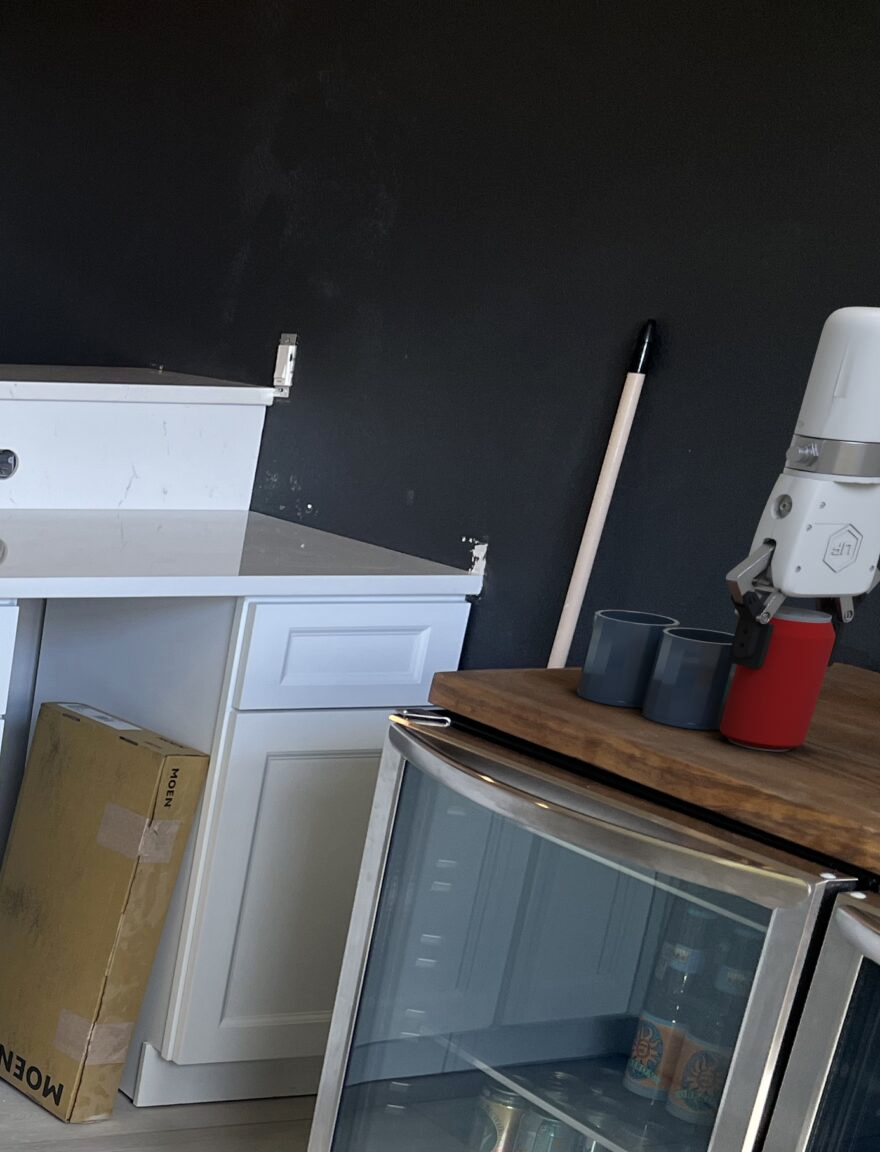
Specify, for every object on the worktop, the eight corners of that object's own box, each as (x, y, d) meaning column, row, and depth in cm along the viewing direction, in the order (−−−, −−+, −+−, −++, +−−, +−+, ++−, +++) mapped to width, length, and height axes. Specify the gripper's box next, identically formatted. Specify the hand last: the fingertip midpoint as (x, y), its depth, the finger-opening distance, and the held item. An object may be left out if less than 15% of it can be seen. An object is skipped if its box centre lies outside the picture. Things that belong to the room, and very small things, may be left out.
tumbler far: (651, 695, 186) (672, 615, 183) (662, 711, 180) (684, 628, 176) (572, 686, 188) (591, 606, 185) (580, 701, 182) (600, 619, 179)
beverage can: (797, 741, 171) (835, 610, 166) (806, 758, 165) (846, 623, 160) (713, 730, 173) (749, 601, 169) (720, 746, 167) (756, 613, 163)
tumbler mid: (720, 716, 179) (742, 633, 176) (733, 733, 172) (758, 648, 169) (636, 706, 181) (657, 624, 178) (647, 723, 174) (669, 638, 171)
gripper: (796, 465, 154) (737, 677, 161) (955, 467, 159) (891, 672, 166) (722, 453, 161) (668, 657, 167) (876, 455, 166) (818, 653, 172)
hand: (779, 663), depth 167 cm, fingers open, 7 cm apart
